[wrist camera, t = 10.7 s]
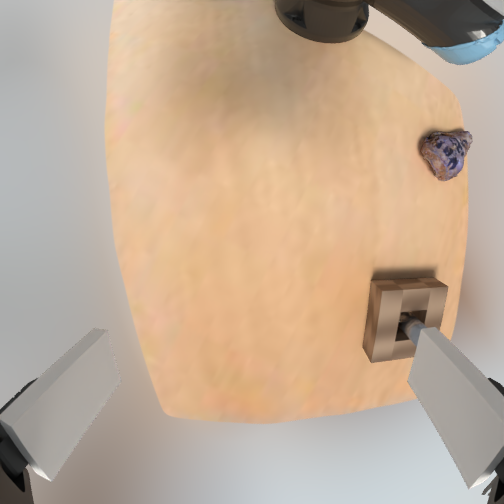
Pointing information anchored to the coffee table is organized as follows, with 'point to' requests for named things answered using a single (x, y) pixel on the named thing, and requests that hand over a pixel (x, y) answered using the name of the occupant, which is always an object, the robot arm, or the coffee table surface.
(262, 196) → the coffee table surface
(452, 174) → the purple lumpy piece
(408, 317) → the pin
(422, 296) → the socket block
